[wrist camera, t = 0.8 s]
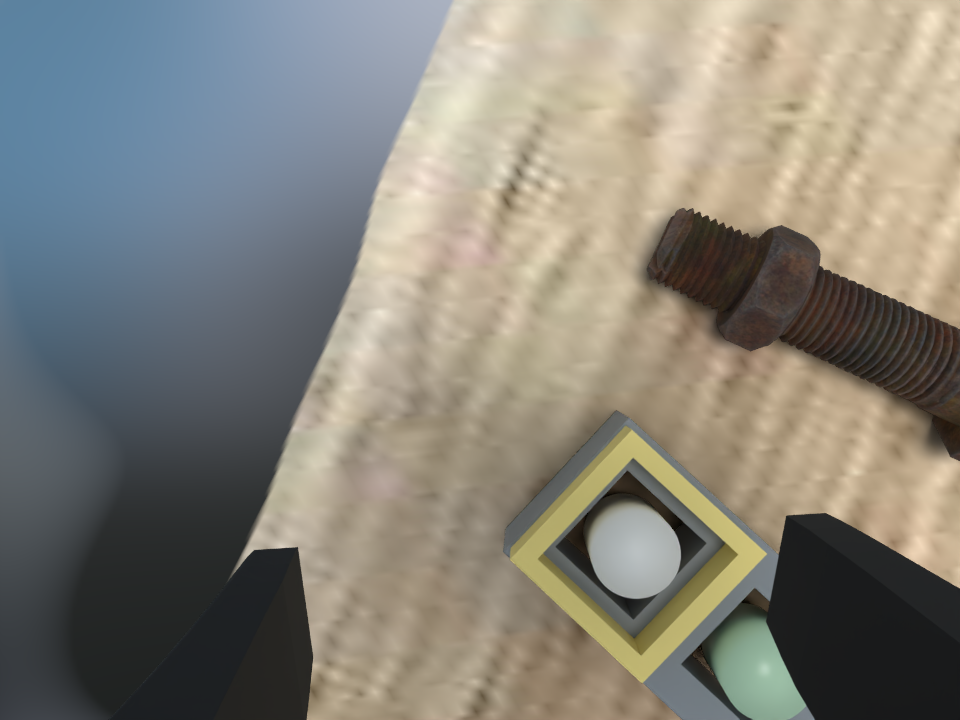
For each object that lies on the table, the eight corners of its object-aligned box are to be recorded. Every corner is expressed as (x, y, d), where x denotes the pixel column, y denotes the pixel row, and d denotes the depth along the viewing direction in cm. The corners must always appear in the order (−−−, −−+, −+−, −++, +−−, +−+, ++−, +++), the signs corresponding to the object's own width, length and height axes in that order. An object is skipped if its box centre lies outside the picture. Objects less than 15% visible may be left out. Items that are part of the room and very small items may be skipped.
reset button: (680, 531, 28) (699, 552, 25) (625, 588, 28) (638, 616, 25) (621, 476, 28) (633, 491, 25) (567, 534, 28) (572, 555, 25)
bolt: (654, 240, 31) (971, 385, 30) (617, 324, 29) (959, 485, 28) (709, 147, 26) (1093, 317, 25) (670, 239, 24) (1092, 433, 23)
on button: (800, 642, 27) (834, 677, 24) (744, 699, 28) (771, 741, 25) (740, 586, 28) (766, 614, 25) (684, 644, 28) (704, 678, 25)
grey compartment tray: (616, 410, 30) (635, 421, 25) (846, 621, 29) (913, 676, 24) (505, 528, 30) (502, 563, 25) (730, 739, 29) (773, 818, 24)
